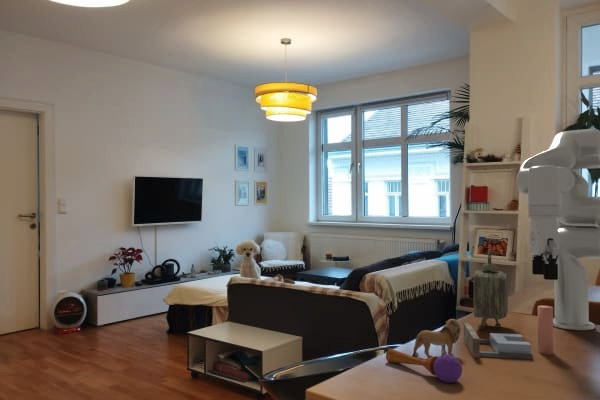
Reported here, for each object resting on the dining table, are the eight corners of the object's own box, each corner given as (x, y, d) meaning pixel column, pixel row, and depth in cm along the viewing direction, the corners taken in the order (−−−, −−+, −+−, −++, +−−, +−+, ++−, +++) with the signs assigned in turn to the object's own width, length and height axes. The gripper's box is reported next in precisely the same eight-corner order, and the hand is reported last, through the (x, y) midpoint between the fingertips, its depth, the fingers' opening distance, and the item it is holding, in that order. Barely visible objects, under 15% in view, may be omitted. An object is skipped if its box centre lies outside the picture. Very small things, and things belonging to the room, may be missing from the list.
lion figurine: (452, 349, 127) (452, 316, 127) (466, 355, 122) (465, 320, 122) (406, 356, 122) (406, 321, 122) (418, 362, 117) (418, 326, 117)
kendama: (399, 343, 120) (467, 356, 104) (397, 367, 119) (467, 385, 103) (382, 343, 117) (451, 356, 101) (381, 368, 116) (450, 386, 100)
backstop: (463, 340, 136) (463, 323, 136) (517, 342, 133) (517, 325, 133) (473, 357, 120) (473, 338, 120) (534, 361, 117) (534, 341, 118)
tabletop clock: (478, 321, 159) (478, 246, 159) (508, 323, 155) (507, 247, 155) (473, 331, 146) (472, 250, 146) (505, 334, 142) (504, 251, 142)
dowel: (536, 350, 126) (535, 305, 127) (550, 350, 126) (550, 305, 126) (540, 354, 123) (539, 308, 123) (555, 354, 122) (554, 308, 122)
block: (489, 343, 132) (489, 333, 132) (520, 345, 130) (520, 334, 130) (497, 354, 122) (497, 343, 122) (531, 356, 120) (530, 344, 120)
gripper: (520, 212, 134) (520, 272, 134) (538, 212, 117) (539, 281, 117) (548, 212, 133) (549, 273, 132) (571, 212, 116) (572, 282, 115)
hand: (544, 276), depth 125 cm, fingers open, 9 cm apart
